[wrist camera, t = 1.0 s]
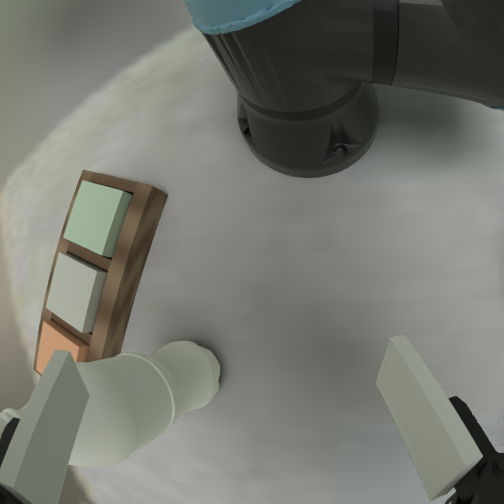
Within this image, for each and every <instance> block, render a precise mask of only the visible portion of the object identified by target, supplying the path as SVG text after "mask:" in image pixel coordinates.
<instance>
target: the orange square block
mask: <svg viewBox="0 0 504 504" xmlns="http://www.w3.org/2000/svg"><path fill="white" fill-rule="evenodd" d="M89 347H90V345H89V344H88V343H86V342H85V341H84V340H82V339H81V338H79V337H78V336H76V335H75V334H73V333H72V332H70V331H69V330H68V329H66V328H65V327H63V326H62V325H61V324H59V323H58V322H56V321H55V320H52V321H43V326H42V332H41V338H40V345H39V352H38V359H37V367H36V370H37V371H38V372H39V373H40V374H41V375H42V373H43V371H44V369H45V368H46V366H47V364H48V362H49V360H50V358H51V356H52V354H53V353H54V351H55V350H65V351H70V352H71V355H72V357H73V359H74V362H75V363H77V362H87V357H88V352H89Z"/></svg>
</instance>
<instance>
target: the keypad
mask: <svg viewBox="0 0 504 504" xmlns="http://www.w3.org/2000/svg"><path fill="white" fill-rule="evenodd" d="M82 180H84V181H87V182H91V183H95V184H99V185H103V186H107V187H110V188H114V189H118V190H122V191H124V192H127V193H129V194H131V195H133V197H132V200H131V202H130V205H129V208H128V211H127V214H126V217H125V220H124V223H123V226H122V229H121V232H120V235H119V238H118V241H117V244H116V247H115V250H114V254H113V257H107V256H102V255H100V254H97V253H95V252H93V251H91V250H89V249H87V248H84V247H82V246H80V245H78V244H76V243H74V242H72V241H69V240H67V239H65V238H63V236H64V233H65V230H66V227H67V223H68V220H69V217H70V214H71V211H72V208H73V205H74V202H75V199H76V196H77V194H78V191H79V188H80V185H81V183H82ZM167 197H168V195H167V194H165V193H164V192H162V191H160V190H158V189H157V188H155V187H153V186H150V185H146V184H142V183H138V182H134V181H130V180H125V179H121V178H117V177H113V176H108V175H104V174H100V173H95V172H91V171H86V170H83V171H82V174H81V176H80V179H79V182H78V184H77V187H76V190H75V193H74V196H73V198H72V201H71V204H70V207H69V210H68V213H67V216H66V219H65V223H64V226H63V229H62V232H61V236H60V239H59V243H58V246H57V250H56V253H55V257H54V261H53V265H52V269H51V273H50V277H49V281H48V286H47V290H46V295H45V300H44V305H43V310H42V315H41V321H40V326H39V332H38V339H37V346H36V353H35V361H34V370H35V371H36V372H37V373H39V372H38V371H37V370H36V367H37V359H38V352H39V345H40V338H41V332H42V326H43V321H52V320H55V321H56V322H58V323H59V324H61V325H62V326H63V327H65V328H66V329H68V330H69V331H70V332H72V333H73V334H75V335H76V336H78V337H79V338H81V339H82V340H84V341H85V342H86V343H88V344H89V345H90V347H89V352H88V357H87V362H92V361H97V360H102V359H107V358H112V357H115V356H117V355H119V354H120V351H121V347H122V343H123V339H124V335H125V331H126V327H127V324H128V320H129V316H130V312H131V309H132V305H133V302H134V298H135V295H136V291H137V288H138V284H139V281H140V278H141V274H142V271H143V268H144V265H145V261H146V258H147V255H148V252H149V249H150V246H151V243H152V240H153V237H154V234H155V231H156V228H157V225H158V222H159V219H160V216H161V213H162V211H163V208H164V205H165V202H166V199H167ZM59 252H62V253H68V254H73V255H76V256H78V257H80V258H82V259H84V260H86V261H88V262H90V263H92V264H94V265H96V266H98V267H100V268H102V269H104V270H107V271H108V274H107V278H106V281H105V285H104V288H103V292H102V296H101V300H100V304H99V308H98V312H97V316H96V320H95V324H94V329H93V332H86V333H81V332H80V331H78V330H77V329H76V328H74V327H73V326H71V325H70V324H68V323H67V322H65V321H64V320H63V319H61V318H60V317H58V316H57V315H55V314H54V313H53V312H51V311H50V310H49V309H47V308H46V305H47V300H48V295H49V291H50V286H51V282H52V278H53V273H54V269H55V265H56V262H57V258H58V254H59ZM39 374H40V373H39ZM40 375H41V374H40Z"/></svg>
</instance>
